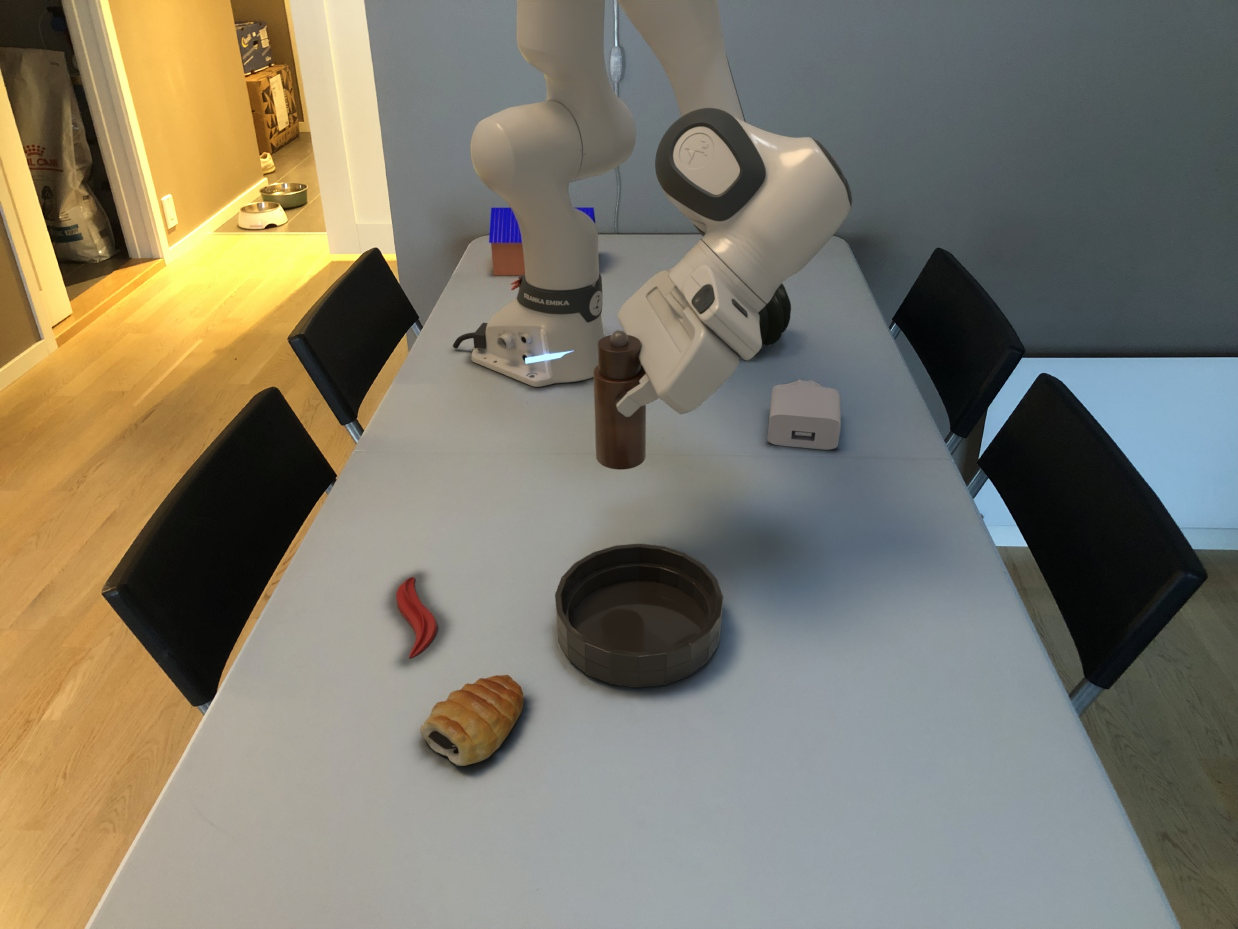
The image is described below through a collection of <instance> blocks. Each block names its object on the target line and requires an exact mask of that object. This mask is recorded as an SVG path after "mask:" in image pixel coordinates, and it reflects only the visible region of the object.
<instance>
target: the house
mask: <svg viewBox="0 0 1238 929" xmlns="http://www.w3.org/2000/svg"><path fill="white" fill-rule="evenodd" d="M573 207H574V208H576V209H578V210H580V211H582V212H584V213H585V214H587V215H588V216H589V217H590V218H591V219H592V220H593V221H594V223H595V225H596V224H597V223H596V216H595V215H596V214H595V209H594V208H595V207H593V206H592V207H587V206H586V207H581V206H580V207H579V206H578V207H575V206H573ZM489 219H490V220H489V221H490V222H489V236H488V243H489V244H490V247H491V258H492V270H493V276H522V275H524V274H525V265H524V255H523V246H522V239H521V233H520V228H519V225H518V222H517V219H516V217H515V215H514V213H513V211H512V209H511V208H510V207H490V218H489Z"/></svg>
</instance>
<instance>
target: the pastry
mask: <svg viewBox="0 0 1238 929" xmlns="http://www.w3.org/2000/svg"><path fill="white" fill-rule="evenodd" d="M524 699H525V698H524V691H523V689H522V686H521V685H520V684H519V683H518V682H517V681H515V680H514V679H513V678H512V677H511V675H509V674H502V675H498V674H497V675H492V676H489V677H486V678H485V677H479V678H478V679H477V680H476V681H475V682H474V683H468V682H467V683H465V684H464V685H463V686H462V687H461V689H457V690H453V691H451V692H450V693H449V695H448V696H447V699H446V700H443V701H438V702H436V703H435V704H434V706H433V707H432V709H431V712H430V714H429V716H428V718H426V720H425V721H424V723H423V724H422V725H421V726H420V729H419V731H420V736H421V738H422V739H424V740H425V741H426V743H427V745H428V746H429V747H430V748H431V749H432V750H433V752H435V753H438V754H440V755H442V756H445V757H447V758H448V760H449V761H450V762H452V763H453V764H455V765H456V766H459V767H463V766H464V767H465V766H469V765H472V764H473V765H474V764H477V763H480V762H482V761H485V760H486V759H487V760H488V759H489V758H490V756H492V755H493V754H494V752H495V751H497V750H498V749H499V748H500V747H501V745H502V744H503V742H504V741H505V740H506V738H507V737H508V736H509V735H510V732H511V730H512V729H513V727H515V726H514V725H515V724H516V722H517V721H518V719H519V717H520V715H521V714H522V711H523V707H524V701H525V700H524Z"/></svg>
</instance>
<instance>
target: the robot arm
mask: <svg viewBox="0 0 1238 929" xmlns="http://www.w3.org/2000/svg"><path fill="white" fill-rule="evenodd" d="M616 1H617V3H618V5H619V6H620V8H621V9H622V11H623V12H624V14H625V15H626V17H627V18H628V19H629V21H630V22H631V24H632V25H633V27H634V28H635V29H636V30H637V32H638V33H639V35H640V36H641V37H642V39H643V40H644V41H645V43H646V44H647V46H648V47H649V48H650V50H651V51H652V53H653V54H654V56H655V57H656V59H657V60H658V62H659V63H660V65H661V67H662V68H663V71H664V72H665V74H666V76H667V78H668V80H669V82H670V85H671V87H672V90H673V93H674V96H675V100H676V103H677V106H678V110H679V114H680V117H679V118H678V119H676V120H675V121H674V122H673V123H672V124H671V125H670V126H669V127H668V128H667V130H666V131H665V132H664V134H663V136H662V137H661V139H660V141H659V143H658V145H657V149H656V153H655V157H654V158H655V160H654V170H655V175H656V178H657V181H658V184H659V185H660V187H661V189H662V192H663V194H664V195H665V196H666V197H667V199H668V200H669V201H670V203H672V205H674V206H675V207H676V208H677V209H678V210H679V212H680V213H681V214H683V215H684V216H685V218H687V219H688V220H689V222H691V223H692V224H693V226H694V227H695V229H696V230H697V231H698V233H699V234H700V235H701V236H702V237H701V238H700V239H699V240H698V241H697V242H696V244H694V246H693V247H692V248H690V250H689V251H688V252H687V253H686V254H685V255H684V256H683V257H682V258H681V260H680V261H678V263H676V265H675V266H674V265H673V266H672V267H671V268H670V269H668V270H666V269H663V270H661V271H659V272H657V273H656V274H654V275H652V276H651V277H650V278H649V279H648V280H647V281H646V282H645V283H644V284H642V286H641V287H639V288H638V290H636V291H635V292H634V293H633V294H632V295H631V296H630V297H629V298H628V299H627V300H626V301H625V302H624V303H623V304H622V306H621V307H620V309H619V311H618V313H617V316H616V318H617V319H618V322H619V324H620V325H621V327H622V330H623V332H625V333H626V334H627V335H631V336H634V337H636V338H638V339H639V340H640V342H641V349H640V353H639V356H638V358H639V361H640V362H641V365H642V366H643V368H644V370H645V372H646V374H645V375H644V376H643V377H642V378H641V379H640V380H639V382H640V384H639V385H638V386H636V387H635V388H633V389H631V390H630V391H627V390H624V391H623V392H622V393H621V394H620V396H619V397H617V398H616V399H615V405H616V407H617V409H618V411H619V412H620V413H622V414H623V415H624V416H626V417H630V416H631V415H632V414H633V413H634V412H635V411H636V410H637V409H638V408H639V407H640V406H644V405H646V406H647V405H648V404H651V403H652V402H655V401H657V400H658V399H660V400H661V401H662V402H664V403H665V405H667V406H668V407H670V408H671V409H672V410H673V411H675V412H676V413H677V414H679V415H685V414H688V413H691V412H693V411H695V410H696V409H698V408H699V407H700V406H702V405H703V404H704V403H705V402H706V401H707V400H709V398H710V397H711V396H712V395H713V394H715V393H716V392H717V390H718V389H720V388H721V387H722V386H723V385H724V384H725V383H726V382H727V380H729V378H730V377H731V376H732V375H733V374H734V372H735V371H736V370H737V368H738V366H739V364H740V357H741V359H743V360H745V361H749V360H751V359H752V358H754V357H755V356H756V355H757V353H759V352H760V351H761V349H762V348H763V346H762V339H761V333H760V325H759V320H760V316H759V314H758V312H759V311H760V310H761V309H763V308H764V307H765V306H766V304H768V302H769V301H770V300H771V298H772V297H773V295H774V293H775V291H776V290H777V288H778V287H779V286H780V285H781V284H783V283H784V282H785V281H786V280H788V279H789V278H791V277H792V276H794V275H797V273H799V272H801V271H802V270H803V269H804V268H805V267H806V266H807V265H808V264H809V263H810V262H811V261H812V260H813V258H814V257H815V256H816V255H817V254H818V253H819V252H820V251H821V250H822V249H823V248H824V247H825V246H826V244H827V243H828V242H829V241H830V240H831V239H832V238H833V237H834V235H835V234H836V232H837V231H838V230H839V229H840V227H842V225H843V223H844V222H845V221H846V219H847V218H848V216H849V214H850V212H851V210H852V205H853V204H852V203H853V196H852V190H851V187H850V184H849V182H848V179H847V178H846V177H845V175H844V173H843V171H842V169H841V167H840V166H839V164H838V163H837V161H836V160H835V158H834V157H833V156H832V155H831V153H830V151H828V149H827V148H826V147H825V146H824V145H823V144H822V143H821V142H820V141H818V140H816V139H815V138H813V137H811V136H802V137H801V136H800V137H791V136H786V135H781V134H777V133H774V132H771V131H767V130H764V129H761V128H759V127H757V126H754V125H752V124H750V123H748V122H746V118H745V115H744V111H743V108H742V105H741V101H740V98H739V94H738V91H737V88H736V84H735V81H734V80H735V79H734V77H733V74H732V69H731V66H730V63H729V58H728V56H727V51H726V46H725V41H724V35H723V29H722V21H721V14H720V7H719V1H718V0H616ZM605 8H606V0H516V44H517V48H518V51H519V52H520V54H521V56H522V58H523V59H524V60H525V61H526V62H527V63H528V64H529V65H530V66H532V67H533V68H534V69H536V70H537V71H539V72H540V73H542V74H543V76H544V80H545V85H546V90H547V91H546V98H545V100H544V101H539V102H533V103H527V104H521V105H516V106H510V107H506V108H504V109H503V110H500V111H498V112H496V113H494V114H491V115H489V116H487V117H485V118H483V119H482V120H480V121H478V123H477V124H476V126H475V127H474V130H473V133H472V136H471V138H470V139H471V140H470V158H471V163H472V166H473V169H474V171H475V173H476V175H477V177H478V178H479V179H480V181H481V182H482V183H483V184H484V186H486V187H487V188H488V189H489V190H490V191H492V192H493V193H495V194H497V195H498V196H500V197H501V198H502V199H503V200H504V201H505V202H506V203H507V205H508V207H509V208H511V209H512V211H513V213H514V215H515V217H516V219H517V222H518V225H519V228H520V233H521V239H522V246H523V255H524V265H525V274H524V275H519V276H518V279H516V280H514V281H513V282H511V283H510V286H511V288H510V290H511V291H514V290H516V289H518V291H517V295H516V297H514V299H512V300H511V301H509V302H508V303H507V304H506V305H505V306H503V307H501V309H500V310H498V311H497V312H495V313H494V314H493V315H492V316H491V317H490V318H489V319H488V322H482V323H481V324H480V326H479V327H478V328H477V329H476V330H475V331H473V332H468V333H464V334H462V335H459V336H458V337H457V338H455V341H454V342H453V344H452V348H454V349H455V350H457V349H458V348H459V347H460V345H461V344H462V342H464V341H466V340H470V339H472V340H473V350H472V353H471V361H472V362H473V363H475V364H478V365H480V366H482V367H484V368H487V369H489V370H492V371H494V372H496V373H499V374H502V375H504V376H507V377H509V378H511V379H514V380H516V381H519V382H521V383H524V384H526V385H527V386H528V385H529V386H531V387H534V388H539V387H545V386H548V385H552V384H553V385H554V384H560V383H561V384H562V383H573V382H574V383H575V382H580V381H586V380H588V379H589V380H590V379H593V378H594V375H593V371H594V369H595V367H596V366H597V365H598V341H599V340H600V339H601V338H603V337H606V336H605V331H604V324H603V319H602V318H603V317H602V313H603V301H604V300H603V298H604V297H603V277H602V275H601V273H600V262H599V260H600V257H599V256H600V254H599V231H598V227H597V225H596V224H595V223H596V222H595V223H594V221H593V220H592V219H591V218H590V217H589V216H588V215H587V214H585V213H584V212H582V211H580V210H578V209H576V208H574V207H575V206H573V203H572V201H571V196H570V191H569V185H570V183H573V182H577V181H581V180H586V179H590V178H594V177H597V176H598V177H599V176H601V175H604V174H606V173H608V172H611V171H612V170H613V169H615V168H617V167H618V166H620V165H622V164H623V163H625V162H627V161H628V159H630V157H631V155H632V154H633V152H634V149H635V146H636V139H637V130H636V123H635V118H634V117H633V114H632V112H631V110H630V109H629V107H628V106H627V105H626V103H625V102H624V101H623V100H622V99H621V98H620V97H618V95H617V94H616V92H615V91H614V88H613V86H612V83H611V81H610V79H609V76H608V71H607V67H606V60H605V49H604V48H605V47H604V46H605V45H604V44H605V13H606V11H605Z"/></svg>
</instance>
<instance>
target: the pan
mask: <svg viewBox="0 0 1238 929" xmlns="http://www.w3.org/2000/svg"><path fill="white" fill-rule="evenodd" d="M721 589H722V588H721V587H720V584H719V581H718V579H717V578H716V576H715V575H714V574H713V573H712V572H711V571H710V570H709V568H708V567H707V566H706V565H705V564H704V563H702V562H701V561H699V560H697V559H695V558H694V557H693V556H691V555H689V554H688V553H686V552H683V551H680V550H677V549H673V548H670V547H668V546H665V545H656V544H649V543H648V544H647V543H628V544H616V545H613V546H610V547H609V546H608V547H606V548H602V549H599V550H596V551H593V552H591V553H589V554H587V555H586V556H584V557H582V558H581V559H579V560H577V561H575V562H574V563H573V564H572V565H571V566H570V567H569V569H567V571H566V572H565V573H564V574H563V575H562V576H561V577H560V580H559V583H558V585H557V588H556V590H555V593H554V602H555V618H556V619H555V620H556V630H557V640H558V644H559V646H560V648H561V649H562V650H563V652H564V654H565V656H566V658H567V659H568V660H569V661H570V662H571V663H572V664H573V665H575V666H576V667H577V668H578V669H580V670H581V671H582V672H583V673H584V674H586V675H587V676H590V677H592V678H594V679H597V680H600V681H601V682H604V683H607V684H609V685H614V686H621V687H622V686H623V687H629V688H635V689H636V688H646V687H647V688H648V687H657V686H665V685H668V684H672V683H674V682H676V681H679V680H682V679H684V678H687V677H690V676H691V675H693V674H694V673H695V672H696V671H698V670H699V669H701V668H702V667H704V665H705V664H707V663H708V662H710V659H711V658H712V656H713V655H714V653H715V651H716V649H717V648H718V646H719V644H720V638H721V629H722V618H723V604H724V595H723V592H722V590H721Z"/></svg>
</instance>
